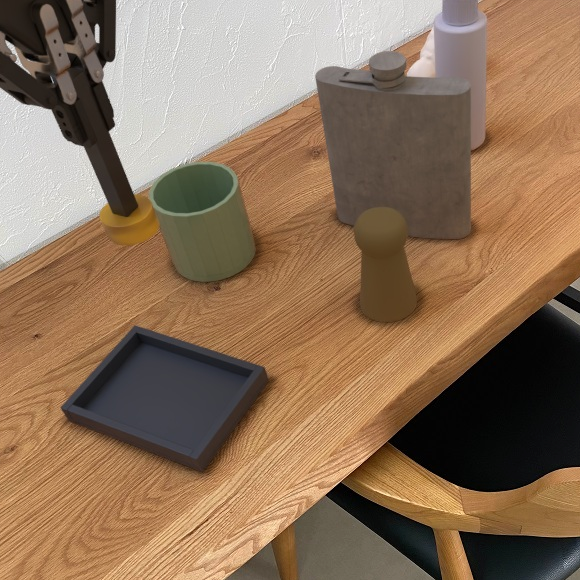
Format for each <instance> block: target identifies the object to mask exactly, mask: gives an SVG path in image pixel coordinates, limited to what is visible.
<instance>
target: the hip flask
mask: <svg viewBox="0 0 580 580" xmlns="http://www.w3.org/2000/svg"><path fill="white" fill-rule="evenodd" d="M407 66H408V65H407V56H406V55H404V54H403V53H402V52H399V51H395V50H393V51H392V50H387V51H379V52H377V53H375V54H373V55H371V57H370V58H369V59H368V68H369V69H368V70H367V69H355V68H354V69H353V68H346V67H342V66H338V65H329V66H325V67H322V68H320V69H319V70H318V71H316V73H315V75H314V77H315V83H316V89H317V90H316V91H317V96H318V102H319V108H320V114H321V121H322V127H323V133H324V140H325V145H326V152H327V157H328V163H329V164H328V165H329V171H330V176H331V177H330V178H331V182H332V188H333V189H332V190H333V195H334V200H335V207H336V213H337V219H338V220H339V221H340V222H341V223H343V224H346V225H349V226H351V227H354V226H355V223H356V220H357V219H358V217H359V216H360V215H361V214H362V213H363V212H365V211H367V210H369V209H372V208H376V207H389V208H392V209H395V210H396V211H398V212H399V213H400V214H401V215H402V216H403V217H404V219H405V221H406V223H407V228H408V236H407V237H411V238H421V239H436V240H461V239H464V238H466V237H468V236H469V235H470V234H471V232H472V150H471V84H470V82H469V81H467V80H466V79H463V78H458V77H450V78H431V77H409V76H407V75H406V74H405V71H406V69H407Z"/></svg>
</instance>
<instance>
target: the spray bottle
mask: <svg viewBox="0 0 580 580" xmlns="http://www.w3.org/2000/svg"><path fill="white" fill-rule="evenodd" d="M441 1H442V3H441V5H442V6H441V7H442V8H441V9H442V10H441V11H440V12H439V13H438V14H437V15H436V16H435V17H434V19H433V26H434V49H435V77H436V78H450V77H458V78H463V79H466V80H467V81H469V82H470V84H471V151H474V150H476V149H478V148H479V147H481V146H482V145H483V144H484V142H485V139H486V132H487V131H486V130H487V129H486V127H487V126H486V125H487V123H486V122H487V120H486V119H487V70H488V69H487V65H488V64H487V63H488V62H487V61H488V59H487V58H488V52H487V51H488V16H487V14H486V13H484V12H483V11H482V10H481V9H479V0H441Z"/></svg>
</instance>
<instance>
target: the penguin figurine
mask: <svg viewBox="0 0 580 580" xmlns="http://www.w3.org/2000/svg"><path fill="white" fill-rule="evenodd" d="M406 76H409V77H431V78H436V77H435V49H434V25H433V26H432V27H431V30H430V32H429V33H428V35H427V37H426V40H425V42H424V45H423V46H422V47H421V49H420V52H419V59H418V60H416V61H415V62H414V63H413V64H412V65H411V67H410V68H408V71H407V73H406Z"/></svg>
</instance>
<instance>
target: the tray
mask: <svg viewBox="0 0 580 580" xmlns="http://www.w3.org/2000/svg"><path fill="white" fill-rule="evenodd" d="M269 381H270V380H269V377H268V373H267V369H266V367H265V366H263V365H260V364H257V363H253V362H250V361H248V360H244V359H240V358H238V357H235V356H231V355H228V354H226V353H222V352H219V351H216V350H213V349H210V348H207V347H204V346H201V345H197V344H195V343H191V342H188V341H185V340H182V339H179V338H176V337H173V336H170V335H166V334H163V333H161V332H157V331H155V330H151V329H148V328H145V327H141V326H139V325H133V326H132V327H131V328H130V330H129V331H128V332H127V333H126V334H125V335H124V336H123V337H122V339H121V340H120V341H119V342H118V343H117V344H116V345H115V346H114V348H113V349H111V351H110V352H109V353H108V354H107V355H106V356H105V358H103V360H101V362H100V363H99V364H98V365H97V366H96V368H94V369H93V371H91V373H90V374H89V375H88V376H87V377H86V379H84V381H83V382H82V383H81V384H80V385H79V386H78V387H77V388H76V390H74V392H73V393H72V394H71V395H70V396H69V397H68V399H67V400H66V401H64V403H63V404H62V405H61V406H60V408H59V409H60V410H61V411H62V413H63V414H64V416H65V418H66V419H67V421H68V422H71V423H73V424H75V425H78V426H81V427H83V428H87V429H89V430H92V431H94V432H97V433H99V434H102V435H105V436H107V437H110V438H112V439H115V440H117V441H121V442H122V443H125V444H128V445H130V446H133V447H136V448H138V449H140V450H143V451H146V452H149V453H151V454H154V455H157V456H159V457H162V458H164V459H167V460H170V461H172V462H174V463H177V464H180V465H183V466H185V467H188V468H190V469H193V470H196V471H199V472H200V473H204V472H205V470H206V469H207V467H208V466H209V465H210V463H212V460H214V458H215V456H216V455H217V454H218V452H220V449H221V448H222V447H223V446H224V444H225V443H226V441H228V439H229V437H230V436H231V434H232V433H233V431H234V430H235V429H236V427H237V426H238V424H239V423H240V422H241V420H242V419H243V417H244V416H245V415H246V413H247V412H248V411H249V409H250V408H251V407H252V405H253V404H254V403H255V402H256V400H257V398H258V397H259V395H260V394H261V392H262V391H263V390H264V388H266V386H267V384H269Z"/></svg>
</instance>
